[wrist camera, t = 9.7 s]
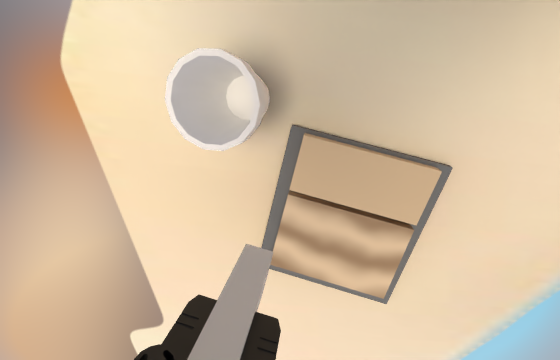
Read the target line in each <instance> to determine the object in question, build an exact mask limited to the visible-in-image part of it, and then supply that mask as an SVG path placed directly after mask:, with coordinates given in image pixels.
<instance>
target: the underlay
mask: <svg viewBox="0 0 560 360" xmlns="http://www.w3.org/2000/svg"><path fill="white" fill-rule="evenodd" d="M451 170H452V167H451V166H449V165H445V164H441V163H437V162H434V161H430V160H426V159H422V158H418V157H414V156H411V155H407V154H403V153H399V152H395V151H391V150H388V149H384V148H380V147H376V146H372V145H368V144H365V143H361V142H357V141H353V140H349V139H346V138H342V137H338V136H334V135H330V134H326V133H323V132H319V131H315V130H311V129H307V128H303V127H300V126H296V125H292V127H291V131H290V135H289V139H288V143H287V147H286V151H285V155H284V159H283V163H282V167H281V171H280V175H279V179H278V184H277V188H276V192H275V196H274V200H273V204H272V208H271V212H270V216H269V220H268V224H267V228H266V232H265V236H264V240H263V244H262V249H266V250H269V251H272V252H273V249H274V245H275V241H276V238H277V234H278V230H279V226H280V223H281V219H282V215H283V211H284V208H285V204H286V200H287V197H288V193H289V190H291V191H295V192H298V193H302V194H305V195H309V196H312V197H316V198H320V199H323V200H327V201H330V202H334V203H337V204H341V205H345V206H348V207H352V208H355V209H359V210H362V211H366V212H370V213H373V214H377V215H380V216H384V217H388V218H391V219H395V220H398V221H402V222H405V223H409V224H410V225H411V226H412V227H413V229H414V232H413V234H412V237H411V239H410V241H409V243H408V245H407V248H406V250H405V252H404V254H403V257H402V259H401V261H400V263H399V266H398V268H397V270H396V272H395V275H394V277H393V279H392V281H391V284H390V286H389V288H388V290H387V292H386V295H385V297H384V299H382V298H379V297H376V296H372V295H369V294H366V293H362V292H359V291H356V290H352V289H349V288H346V287H343V286H339V285H336V284H333V283H329V282H326V281H323V280H319V279H316V278H313V277H309V276H306V275H303V274H299V273H296V272H293V271H290V270H286V269H283V268H280V267H276V266H273V265H270V267H269V269H272V270H275V271H279V272H282V273H285V274H289V275H292V276H295V277H298V278H302V279H305V280H308V281H312V282H315V283H318V284H322V285H325V286H328V287H331V288H335V289H338V290H341V291H345V292H348V293H351V294H355V295H358V296H361V297H364V298H368V299H371V300H374V301H378V302H381V303H384V304H387V302H388V300H389V298H390V296H391V294H392V292H393V289H394V287H395V285H396V283H397V281H398V279H399V277H400V275H401V273H402V271H403V269H404V267H405V265H406V263H407V261H408V259H409V257H410V255H411V253H412V250H413V248H414V246H415V244H416V242H417V240H418V238H419V236H420V234H421V232H422V230H423V228H424V226H425V224H426V222H427V220H428V218H429V216H430V213H431V211H432V209H433V207H434V205H435V203H436V201H437V199H438V197H439V195H440V193H441V191H442V189H443V187H444V185H445V183H446V181H447V179H448V177H449V174H450V172H451Z"/></svg>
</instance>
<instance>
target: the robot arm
mask: <svg viewBox="0 0 560 360" xmlns="http://www.w3.org/2000/svg"><path fill="white" fill-rule="evenodd" d="M272 256H273V252H272V251H269V250H266V249H262V248H259V247H256V246H252V245H249V244H246V245H245V247H244V249H243V251H242V253H241V255H240V257H239V259H238V261H237V263H236V265H235V267H234V269H233V271H232V273H231V275H230V277H229V279H228V280H227V282H226V284H225V286H224V288H223V290H222V292H221V294H220V296H219V298H218V300H214V299H211V298H208V297H205V296H202V295H198V296H196V297H195V298H193V299H192V300H191V301H189V302H188V304H187V305H186V307H185V308H184V310H183V312H182V314H181V315H180V316H179V318H178V319H177V321H176V323H175V324H174V326H173V327H172V329H171V330H170V332H169V333H168V335H167V336H166V338H165V340H164V341H163V343H162V344H161V345H155V346H150V347H148V348H147V349H145V350H143V351H141V352H140V353H139V354H138V356H137V357H136V358H135V359H134V360H275V359H276V353H277V348H278V343H279V337H280V332H281V330H280V326H279V322H278V319H277V318H274V317H271V316H267V315H264V314H261V313H258V312H257V309H258V306H259V303H260V300H261V296H262V293H263V290H264V286H265V282H266V278H267V275H268V271H269V267H270V263H271V260H272Z"/></svg>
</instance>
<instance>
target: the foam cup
mask: <svg viewBox="0 0 560 360" xmlns="http://www.w3.org/2000/svg"><path fill="white" fill-rule="evenodd" d="M165 102H166V105H167V109H168V112H169V115H170V119H171V122H172V123H173V124H174V126H175V127H176V128H177V130H178V131H179V132H180V133H181V135H182V136H183V137H184V138H185V139H186V140H188V141H189V142H191V143H193V144H195V145H196V146H198V147H200V148H202V149H205V150H218V151H224V150H227V149H229V148H231V147H234V146H236V145H238V144H241V143H243V142H244V141H246V140H247V139H249V137H250V136H251V135H252V134H253V132H254V131H255V130H256V129H257V128H258V126H259V125H260V124H261V120H262V117H263V116H264V114H265V113H266V111H267V110H268V106H269V102H270V95H269V90H268V88H267V86H266V85H265V83H264V82H263V80H262V79H261V78H260V77H259V76H258V75H257V74H256V73H255V72H254V71H253V69H252V68H251V66H250V65H249V64H248V63H247V62H245V61H244V60H242V59H240V58H238V57H237V56H235V55H233V54H231V53H230V52H227V51H225V50H222V49H206V48H197V49H196V50H194V51H192V52H190V53H188V54H187V55H185V56H183V57H181V58H180V59H178V61H177V63H176V64H175V66H174V68H173V69H172V71H171V72H170V74H169V76H168V77H167V85H166V94H165Z"/></svg>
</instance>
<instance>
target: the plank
mask: <svg viewBox="0 0 560 360" xmlns="http://www.w3.org/2000/svg"><path fill="white" fill-rule="evenodd" d="M413 232H414V229H413V227H412V226H411V225H410V224H409V223H405V222H402V221H398V220H395V219H391V218H388V217H384V216H380V215H377V214H373V213H370V212H366V211H362V210H359V209H355V208H352V207H348V206H345V205H341V204H337V203H334V202H330V201H327V200H323V199H320V198H316V197H312V196H309V195H305V194H302V193H298V192H295V191H291V190H289V193H288V197H287V200H286V204H285V208H284V211H283V215H282V219H281V223H280V226H279V230H278V234H277V238H276V241H275V245H274V249H273V256H272V260H271V263H270V265H273V266H276V267H280V268H283V269H286V270H290V271H293V272H296V273H299V274H303V275H306V276H309V277H313V278H316V279H319V280H323V281H326V282H329V283H333V284H336V285H339V286H343V287H346V288H349V289H352V290H356V291H359V292H362V293H366V294H369V295H372V296H376V297H379V298H382V299H384V297H385V295H386V292H387V290H388V288H389V286H390V284H391V281H392V279H393V277H394V275H395V272H396V270H397V268H398V266H399V263H400V261H401V259H402V257H403V254H404V252H405V250H406V248H407V245H408V243H409V241H410V239H411V237H412V234H413Z"/></svg>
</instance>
